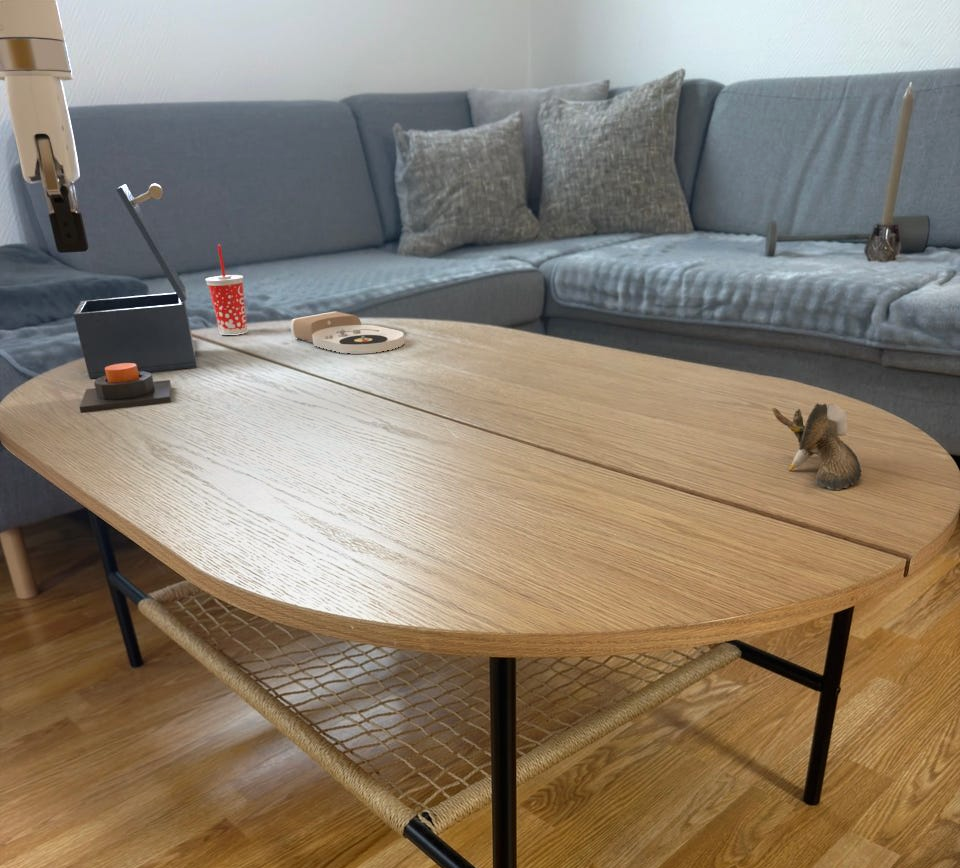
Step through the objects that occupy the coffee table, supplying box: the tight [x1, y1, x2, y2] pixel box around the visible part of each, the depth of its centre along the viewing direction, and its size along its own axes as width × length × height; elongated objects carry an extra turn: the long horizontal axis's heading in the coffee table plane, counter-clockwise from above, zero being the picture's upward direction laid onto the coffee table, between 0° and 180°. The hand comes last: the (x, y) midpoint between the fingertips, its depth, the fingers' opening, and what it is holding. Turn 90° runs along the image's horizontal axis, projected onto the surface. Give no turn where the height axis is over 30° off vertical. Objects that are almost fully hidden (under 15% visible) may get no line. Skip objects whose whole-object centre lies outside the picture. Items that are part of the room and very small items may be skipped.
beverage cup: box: [205, 244, 248, 335], centre depth 144 cm, size 6×6×14 cm
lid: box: [115, 183, 187, 302], centre depth 123 cm, size 16×13×5 cm
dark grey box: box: [72, 292, 198, 380], centre depth 127 cm, size 15×13×9 cm
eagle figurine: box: [771, 402, 862, 491], centre depth 76 cm, size 8×7×9 cm
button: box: [105, 363, 139, 382], centre depth 104 cm, size 4×4×2 cm
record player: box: [290, 310, 405, 355], centre depth 136 cm, size 12×3×20 cm
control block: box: [79, 371, 172, 414], centre depth 105 cm, size 10×9×4 cm
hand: (73, 251), depth 99 cm, fingers closed
